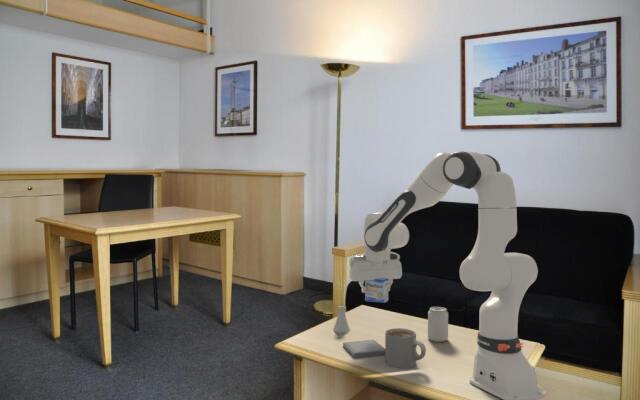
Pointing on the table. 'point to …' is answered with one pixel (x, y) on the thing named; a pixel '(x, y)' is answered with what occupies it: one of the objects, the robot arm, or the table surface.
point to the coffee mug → (402, 348)
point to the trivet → (364, 348)
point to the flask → (341, 321)
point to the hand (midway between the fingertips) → (375, 291)
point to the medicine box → (376, 290)
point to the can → (438, 324)
